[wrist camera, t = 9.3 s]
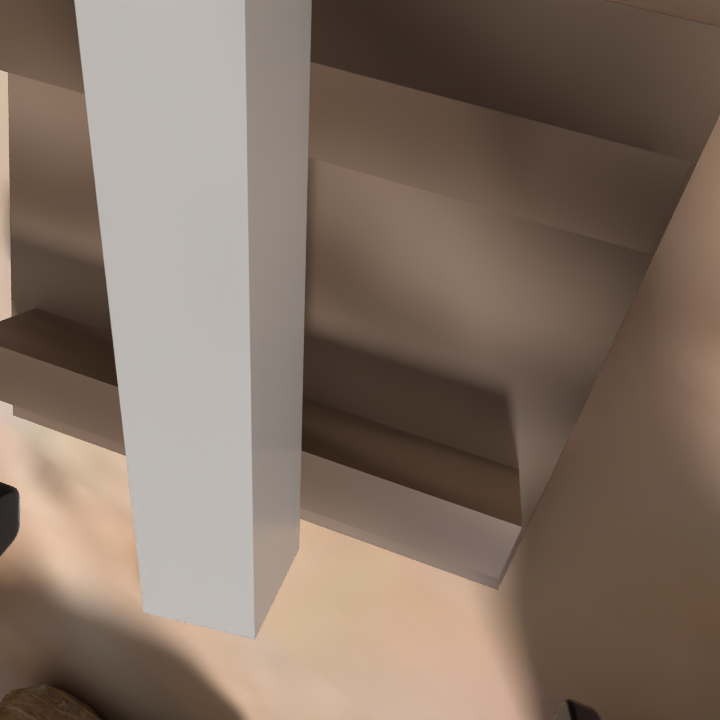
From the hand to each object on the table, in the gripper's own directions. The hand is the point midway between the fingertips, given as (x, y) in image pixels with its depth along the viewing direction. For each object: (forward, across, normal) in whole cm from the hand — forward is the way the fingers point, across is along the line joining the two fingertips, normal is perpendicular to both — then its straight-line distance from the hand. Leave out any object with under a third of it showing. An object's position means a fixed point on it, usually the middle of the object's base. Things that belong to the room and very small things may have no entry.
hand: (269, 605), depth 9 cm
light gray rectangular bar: (+8, +4, -2) cm, 9 cm away
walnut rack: (+11, +4, -2) cm, 12 cm away
